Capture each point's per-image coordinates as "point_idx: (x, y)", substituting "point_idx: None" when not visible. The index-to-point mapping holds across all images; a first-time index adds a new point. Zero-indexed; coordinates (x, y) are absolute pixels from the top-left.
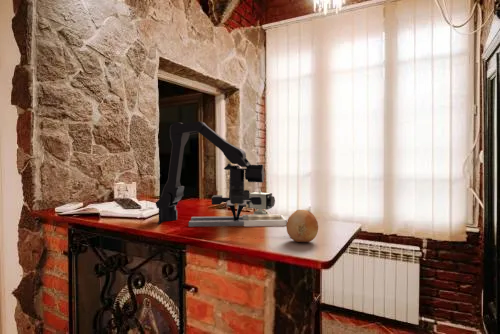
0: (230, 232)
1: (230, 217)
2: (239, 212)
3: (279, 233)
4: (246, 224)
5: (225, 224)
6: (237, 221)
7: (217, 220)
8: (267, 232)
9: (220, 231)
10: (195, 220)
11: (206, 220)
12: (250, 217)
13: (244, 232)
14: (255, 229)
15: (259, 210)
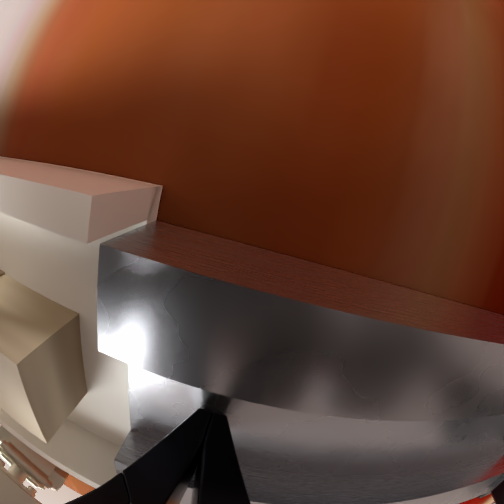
0: (396, 69)
1: (257, 502)
2: (113, 501)
3: (4, 14)
4: (96, 181)
5: (428, 310)
6: (225, 280)
7: (475, 413)
8: (33, 25)
9: (485, 174)
10: (498, 461)
11: (452, 473)
12: (6, 346)
13: (217, 14)
14: (56, 137)
15: (18, 472)
